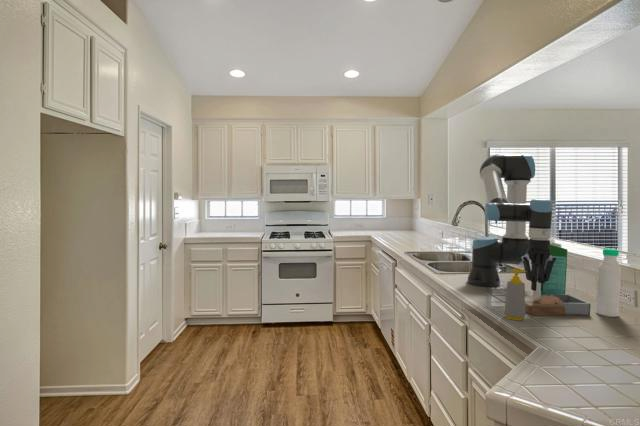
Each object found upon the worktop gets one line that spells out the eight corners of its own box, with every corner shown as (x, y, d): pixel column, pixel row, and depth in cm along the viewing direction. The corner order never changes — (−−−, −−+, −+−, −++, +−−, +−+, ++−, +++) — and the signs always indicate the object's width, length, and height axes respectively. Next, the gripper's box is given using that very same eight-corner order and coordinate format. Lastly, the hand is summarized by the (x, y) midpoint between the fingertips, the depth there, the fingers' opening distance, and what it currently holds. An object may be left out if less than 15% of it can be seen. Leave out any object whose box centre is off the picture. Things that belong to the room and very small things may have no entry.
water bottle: (612, 318, 142) (616, 251, 141) (591, 313, 149) (595, 248, 147) (622, 315, 146) (626, 249, 144) (601, 310, 152) (605, 247, 150)
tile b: (547, 298, 154) (551, 294, 154) (557, 306, 154) (560, 302, 154) (555, 302, 149) (558, 298, 149) (564, 310, 149) (568, 306, 149)
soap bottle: (518, 322, 137) (520, 272, 136) (500, 316, 142) (502, 268, 141) (529, 319, 140) (531, 270, 139) (510, 313, 146) (512, 266, 145)
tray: (543, 304, 159) (544, 294, 158) (568, 305, 159) (568, 294, 158) (563, 314, 146) (563, 303, 145) (589, 315, 146) (590, 303, 145)
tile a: (534, 300, 154) (535, 295, 154) (547, 300, 154) (547, 295, 154) (541, 303, 149) (541, 298, 149) (554, 304, 149) (555, 298, 149)
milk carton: (564, 303, 161) (567, 243, 159) (541, 302, 163) (543, 243, 161) (556, 297, 170) (559, 241, 168) (533, 296, 171) (536, 240, 170)
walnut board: (513, 303, 160) (513, 296, 160) (542, 304, 160) (542, 296, 159) (532, 315, 145) (533, 307, 145) (564, 315, 145) (565, 307, 144)
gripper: (527, 239, 147) (524, 301, 148) (562, 240, 147) (558, 301, 148) (517, 237, 154) (515, 295, 156) (550, 238, 154) (547, 296, 156)
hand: (536, 298), depth 152 cm, fingers closed
